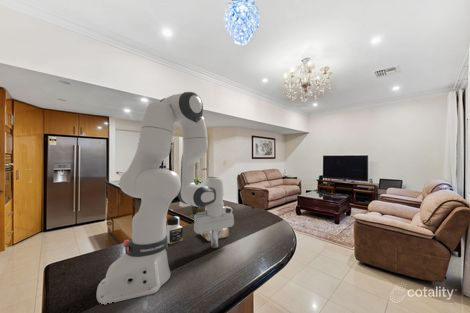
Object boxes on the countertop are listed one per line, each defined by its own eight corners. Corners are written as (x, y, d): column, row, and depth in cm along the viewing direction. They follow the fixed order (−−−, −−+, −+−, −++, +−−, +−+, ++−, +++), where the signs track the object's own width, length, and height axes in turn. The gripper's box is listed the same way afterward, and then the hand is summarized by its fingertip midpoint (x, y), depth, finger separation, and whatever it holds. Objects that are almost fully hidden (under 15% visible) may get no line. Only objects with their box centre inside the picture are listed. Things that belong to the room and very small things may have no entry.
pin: (213, 248, 94) (212, 229, 94) (210, 245, 96) (210, 227, 96) (219, 246, 95) (219, 227, 95) (216, 244, 98) (216, 226, 98)
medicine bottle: (169, 244, 98) (169, 220, 98) (163, 240, 103) (163, 217, 104) (182, 240, 103) (182, 217, 103) (176, 236, 108) (176, 214, 108)
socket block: (208, 241, 102) (208, 233, 102) (199, 233, 112) (199, 226, 112) (228, 236, 108) (228, 228, 108) (218, 229, 118) (218, 222, 118)
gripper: (196, 214, 88) (196, 246, 88) (235, 208, 99) (235, 236, 99) (191, 211, 93) (191, 241, 93) (229, 206, 104) (229, 232, 104)
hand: (214, 238), depth 96 cm, fingers closed on pin, 3 cm apart
